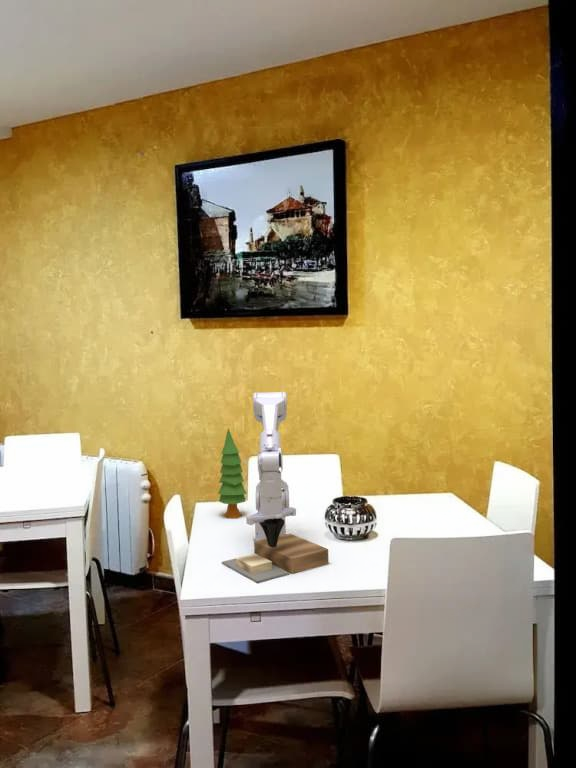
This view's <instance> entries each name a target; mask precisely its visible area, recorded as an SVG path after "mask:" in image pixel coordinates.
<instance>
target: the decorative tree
mask: <svg viewBox="0 0 576 768" xmlns="http://www.w3.org/2000/svg"><path fill="white" fill-rule="evenodd" d="M224 441H225V442H224V445H223V446H222V447H223V448H222V450H221V455H222V457H221V460H220V464H222V465H221V468H220V471H219V472H220V474H221V476H220V479H219V482H218V483H219V484H221V486H220V488H219V491H218V493H217V495H220V496H219V500H218V502H219V503H220V504H221V503H222V504H224V505H227V507H226V512H225V514H224V517H225V518H226V519H238V518H239V517H242V516H243V515H242V513H241V512H240V510H239V509H238V504H241V503H245V502H246V496H245V495H247V491H246V489H245V487H244V485H243V482H244V481H245V480H244V477H243V476H242V475H243V474H242V473H243V468H242V465H241V464H242V460H241V457H240V451H239V449H238V447H237V445H236V444H235V441H234V439H233V435H232V434H231V431H230V429H229V428H227V430H226V436H225V440H224Z"/></svg>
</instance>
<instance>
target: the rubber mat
mask: <svg viewBox="0 0 576 768" xmlns="http://www.w3.org/2000/svg"><path fill="white" fill-rule="evenodd" d="M240 557H241V556H239V557H238V558H240ZM236 558H237V557H236ZM236 558H232V559H228V560H224V561H221V564H222V565H224V566H225V567H227V568H229V569H231V570H232V571H234V572H236V573H238V574H240V575H242V576H244V577H245V578H247V579H249V580H251V581H252V582H255V583H256V584H260V583H264V582H267V581H271V580H275V579H278V578H281V576H282V577H285V576H289V575H290V573H289V572H287V571H285V570H283V569H281V568H279V567H277V566H275V565H273V564H272V569H270V570H267V571H263V572H259V573H255V574H251V573H249V572H247V571H245V570H244V569H242V568H240V567H238V566H236ZM277 577H278V578H277ZM274 578H275V579H274ZM270 579H271V580H270ZM263 581H264V582H263Z"/></svg>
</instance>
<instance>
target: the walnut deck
mask: <svg viewBox="0 0 576 768" xmlns="http://www.w3.org/2000/svg"><path fill="white" fill-rule="evenodd" d="M253 547H254V548H253V549H254V550H253V551H254V552H253V554H257V555H259V556H261V557H263V558H266V559H268V560H270V561H272V564H273V565H275V566H277V567H279V568H281V569H283V570H285V571H287V572H289V574H291V575H292V574H297V573H300V572H303V571H308V570H311V569H314V568H318V567H323V566H326V565H328V564H329V549H328V548H326V547H324V546H321V545H319V544H316V543H314V542H311V541H309V540H307V539H304V538H302V537H300V536H298V535H295V534H292V533H289V532H288V533H286V534H284V535H280V536H279V538H278V542H277V546H276V547H273V548H272V547H270V546H268V542H267V539H263V540H258V541H256V540H253Z"/></svg>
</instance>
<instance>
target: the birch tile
mask: <svg viewBox="0 0 576 768" xmlns="http://www.w3.org/2000/svg"><path fill="white" fill-rule="evenodd" d="M239 557H240V558H239ZM239 557H236V566H238V567H240V568H242V569H244V570H245V571H247V572H249V573H251V574H255V573H259V572H263V571H267V570H270V569H272V561H270V560H268V559H266V558H263V557H261V556H259V555H257V554H254V553H252V554H248V555H245V556H244V555H243V556H239Z"/></svg>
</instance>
